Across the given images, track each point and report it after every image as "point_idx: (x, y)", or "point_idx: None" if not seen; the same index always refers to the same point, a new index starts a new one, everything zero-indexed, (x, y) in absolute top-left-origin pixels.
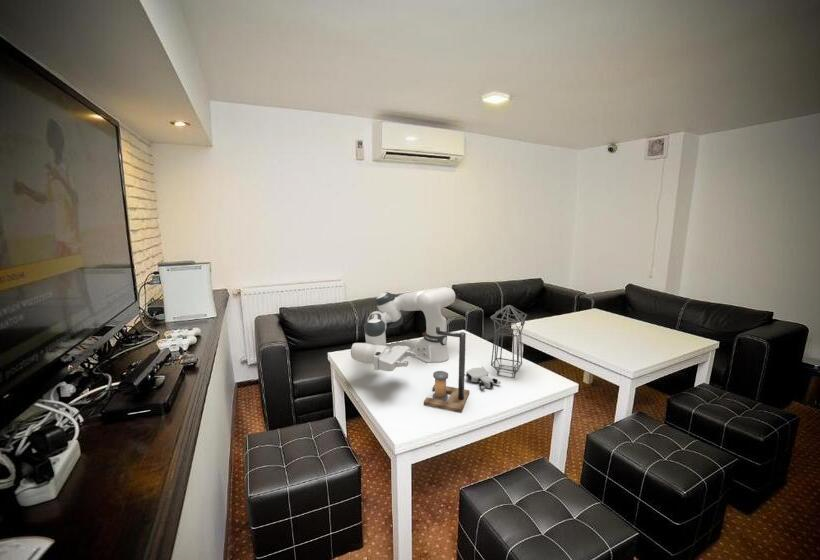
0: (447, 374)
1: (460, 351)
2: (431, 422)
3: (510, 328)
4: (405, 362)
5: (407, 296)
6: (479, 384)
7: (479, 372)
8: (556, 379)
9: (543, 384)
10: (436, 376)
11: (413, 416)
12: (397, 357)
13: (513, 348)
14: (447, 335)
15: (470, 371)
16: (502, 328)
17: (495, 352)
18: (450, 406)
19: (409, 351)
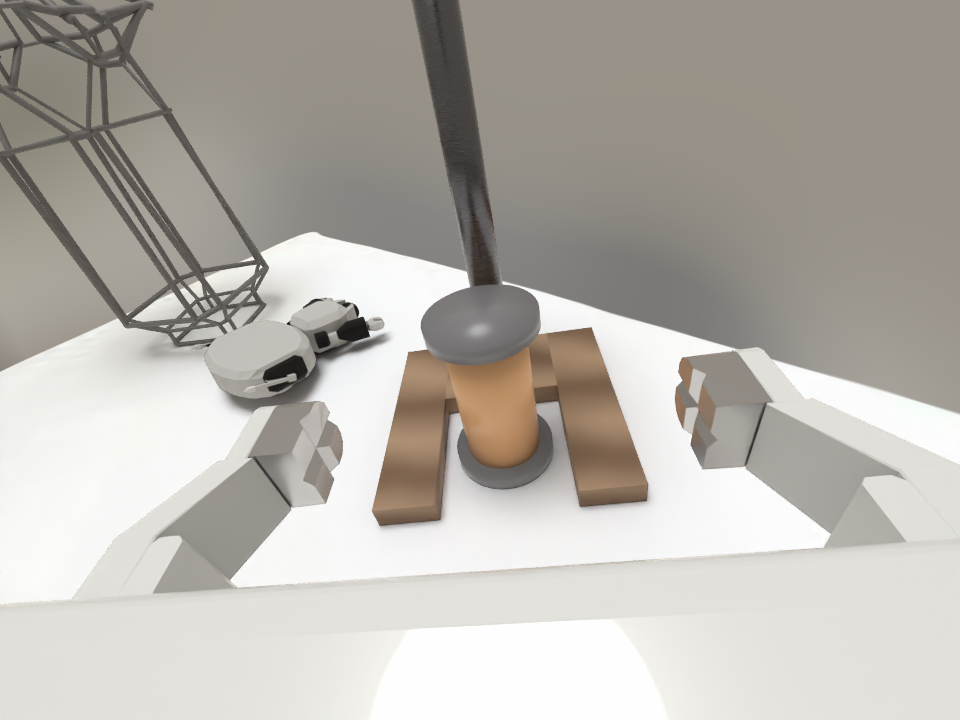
0: (465, 290)
1: (462, 30)
2: None
3: (45, 140)
4: (763, 362)
5: None
6: (354, 333)
7: (259, 337)
8: (279, 249)
9: (310, 257)
10: (527, 317)
11: None
12: (813, 586)
13: (207, 174)
14: None
15: (247, 362)
16: (11, 157)
17: (175, 238)
18: (596, 361)
19: (144, 536)
